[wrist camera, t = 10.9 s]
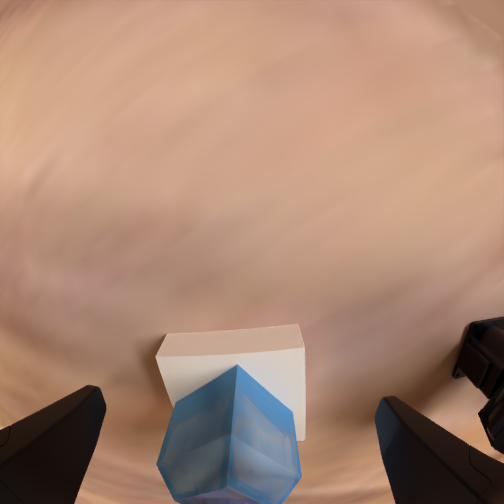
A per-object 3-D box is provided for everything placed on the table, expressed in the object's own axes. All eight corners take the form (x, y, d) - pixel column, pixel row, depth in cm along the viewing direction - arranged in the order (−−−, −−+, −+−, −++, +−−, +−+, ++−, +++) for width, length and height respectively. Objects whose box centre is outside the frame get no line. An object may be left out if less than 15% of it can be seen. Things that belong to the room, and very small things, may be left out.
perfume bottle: (176, 401, 20) (134, 539, 8) (237, 364, 18) (222, 533, 7) (231, 442, 21) (221, 568, 9) (292, 411, 20) (310, 554, 8)
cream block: (296, 318, 22) (304, 347, 18) (300, 409, 24) (305, 440, 21) (169, 328, 22) (155, 356, 18) (195, 415, 25) (188, 445, 21)
